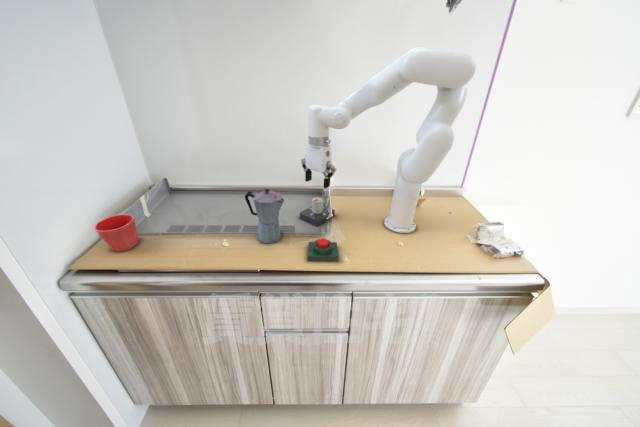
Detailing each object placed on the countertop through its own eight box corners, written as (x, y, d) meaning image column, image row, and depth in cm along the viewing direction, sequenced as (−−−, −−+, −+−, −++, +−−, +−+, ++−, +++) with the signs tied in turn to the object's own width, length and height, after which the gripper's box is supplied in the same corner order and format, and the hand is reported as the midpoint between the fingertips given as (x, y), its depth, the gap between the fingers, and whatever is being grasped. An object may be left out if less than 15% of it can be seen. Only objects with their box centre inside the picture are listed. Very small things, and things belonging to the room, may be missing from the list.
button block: (336, 247, 87) (337, 238, 85) (337, 261, 80) (338, 252, 78) (308, 246, 87) (308, 237, 85) (307, 261, 80) (307, 251, 78)
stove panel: (317, 208, 112) (317, 202, 111) (334, 216, 107) (335, 209, 105) (299, 218, 104) (299, 212, 103) (317, 226, 99) (317, 220, 97)
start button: (328, 242, 83) (328, 238, 82) (328, 248, 80) (328, 244, 79) (317, 242, 83) (317, 238, 82) (317, 248, 80) (317, 244, 79)
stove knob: (316, 207, 107) (317, 195, 104) (325, 211, 104) (325, 198, 101) (309, 211, 104) (309, 199, 101) (318, 215, 101) (318, 202, 98)
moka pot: (283, 247, 86) (279, 196, 76) (243, 241, 89) (235, 192, 79) (291, 232, 94) (289, 185, 85) (254, 228, 97) (248, 181, 87)
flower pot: (101, 257, 80) (88, 233, 75) (112, 239, 88) (101, 216, 84) (139, 250, 83) (128, 227, 78) (146, 234, 92) (137, 211, 87)
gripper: (343, 143, 87) (340, 187, 95) (308, 135, 96) (307, 176, 105) (330, 146, 82) (328, 192, 90) (294, 138, 91) (295, 180, 100)
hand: (317, 183), depth 97 cm, fingers open, 9 cm apart
